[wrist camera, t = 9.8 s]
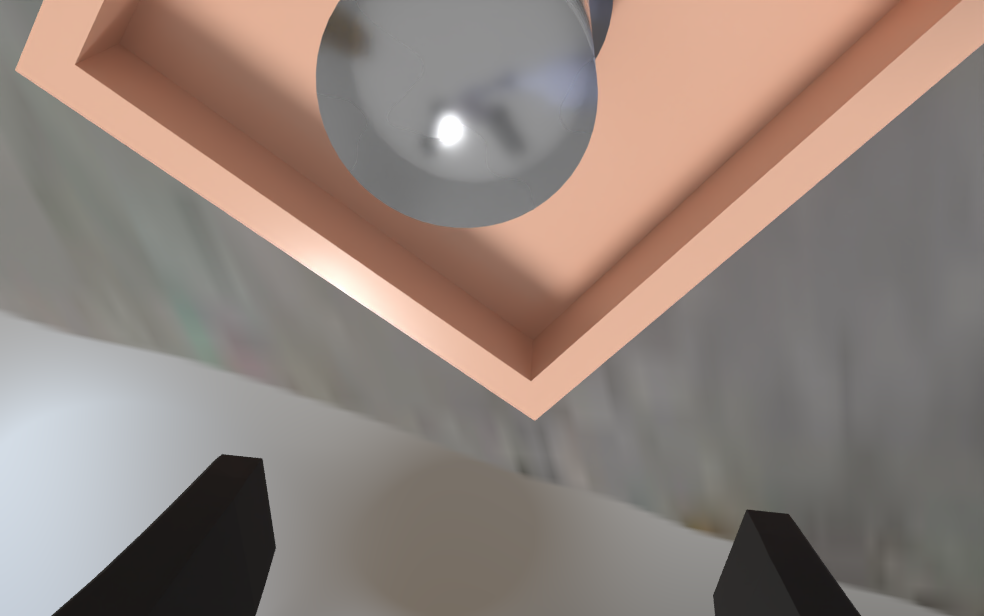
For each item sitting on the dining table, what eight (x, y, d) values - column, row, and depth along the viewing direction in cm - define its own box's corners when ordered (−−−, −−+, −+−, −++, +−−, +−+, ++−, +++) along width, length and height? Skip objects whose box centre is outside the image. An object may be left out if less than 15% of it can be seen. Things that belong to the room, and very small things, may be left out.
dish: (1000, -49, 15) (1070, -31, 13) (536, 365, 22) (534, 420, 20) (436, -752, 11) (407, -892, 9) (78, 42, 18) (15, 70, 16)
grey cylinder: (635, -110, 15) (689, -64, 8) (581, 110, 17) (588, 286, 10) (411, -155, 14) (277, -146, 8) (391, 73, 17) (276, 225, 10)
